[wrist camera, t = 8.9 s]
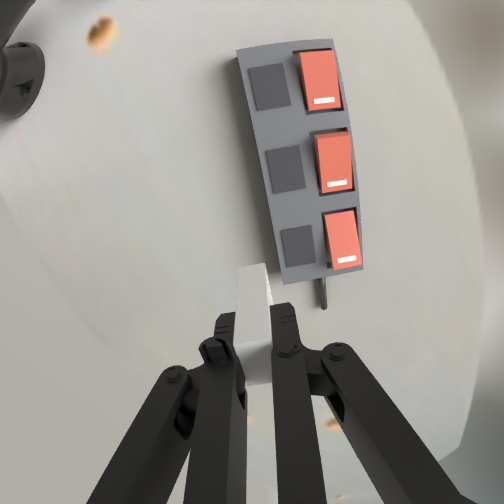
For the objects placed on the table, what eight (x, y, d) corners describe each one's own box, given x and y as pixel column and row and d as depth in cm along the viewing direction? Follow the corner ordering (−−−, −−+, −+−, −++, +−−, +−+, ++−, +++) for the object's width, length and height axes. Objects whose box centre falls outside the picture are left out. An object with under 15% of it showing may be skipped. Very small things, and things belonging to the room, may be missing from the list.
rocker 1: (306, 108, 36) (309, 110, 35) (297, 52, 31) (300, 53, 30) (337, 104, 36) (340, 107, 34) (329, 50, 31) (333, 50, 29)
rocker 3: (331, 268, 44) (333, 270, 42) (322, 215, 43) (324, 215, 41) (359, 263, 43) (362, 264, 41) (350, 211, 43) (353, 210, 41)
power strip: (288, 312, 53) (290, 327, 49) (237, 56, 35) (235, 49, 31) (356, 299, 52) (363, 312, 48) (325, 45, 34) (333, 38, 30)
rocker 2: (319, 187, 41) (322, 193, 40) (314, 135, 36) (317, 139, 34) (348, 183, 40) (352, 188, 39) (345, 131, 35) (350, 135, 34)
